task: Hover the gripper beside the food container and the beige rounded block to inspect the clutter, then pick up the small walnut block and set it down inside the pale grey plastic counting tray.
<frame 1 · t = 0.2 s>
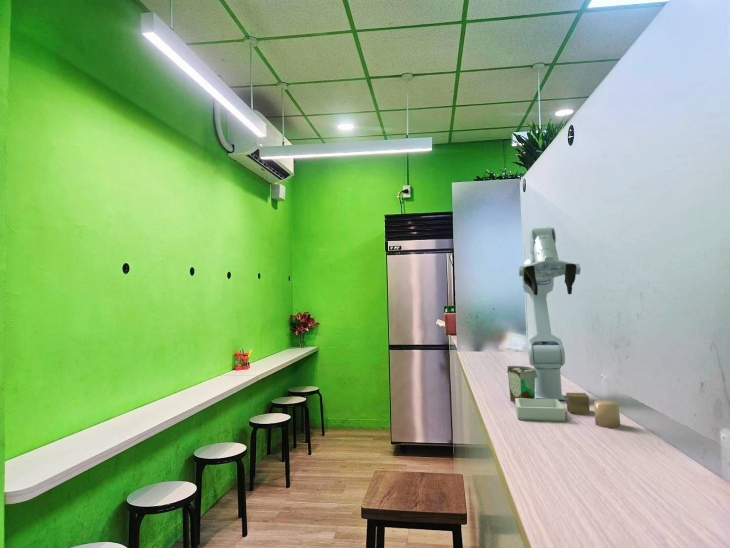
hand: (552, 291, 106), 31 cm above the table, tool tilted 45°, fingers open, 7 cm apart
walnut block: (578, 412, 112), on the table
counting tray: (538, 415, 110), on the table
beige rounded block: (607, 425, 100), on the table
food container: (526, 405, 122), on the table
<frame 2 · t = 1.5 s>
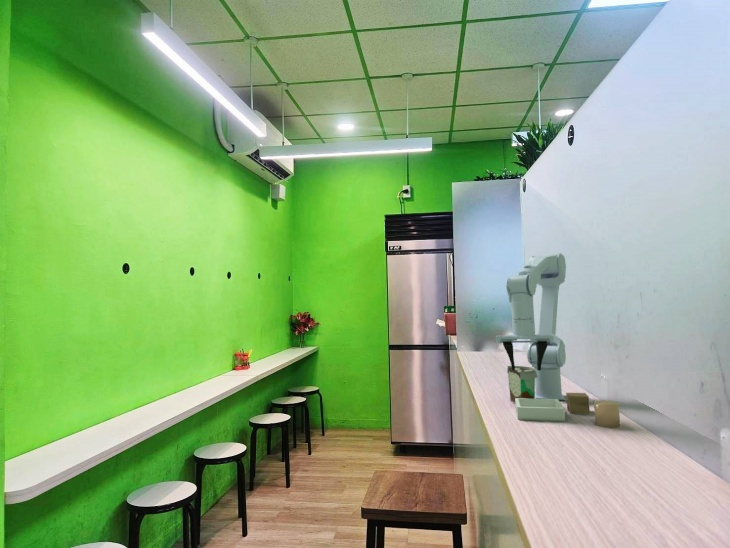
hand: (526, 369, 117), 10 cm above the table, tool pointing down, fingers open, 6 cm apart
nothing on the table moved.
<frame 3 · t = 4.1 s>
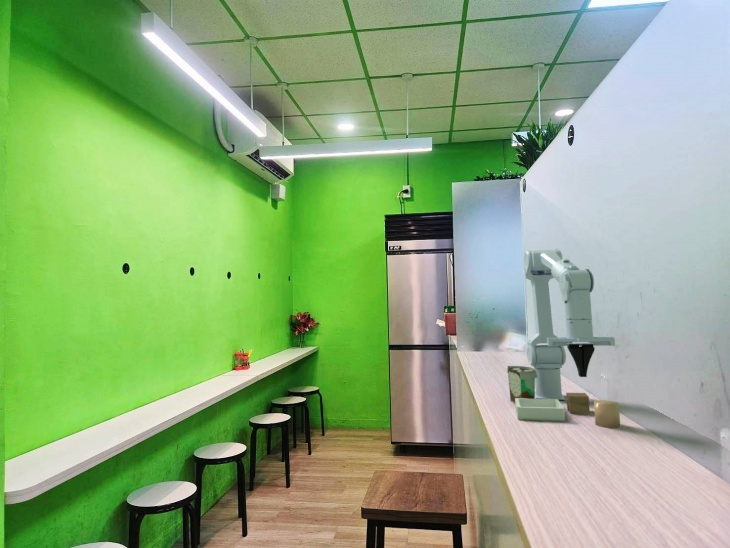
hand: (582, 376, 104), 10 cm above the table, tool pointing down, fingers closed
nothing on the table moved.
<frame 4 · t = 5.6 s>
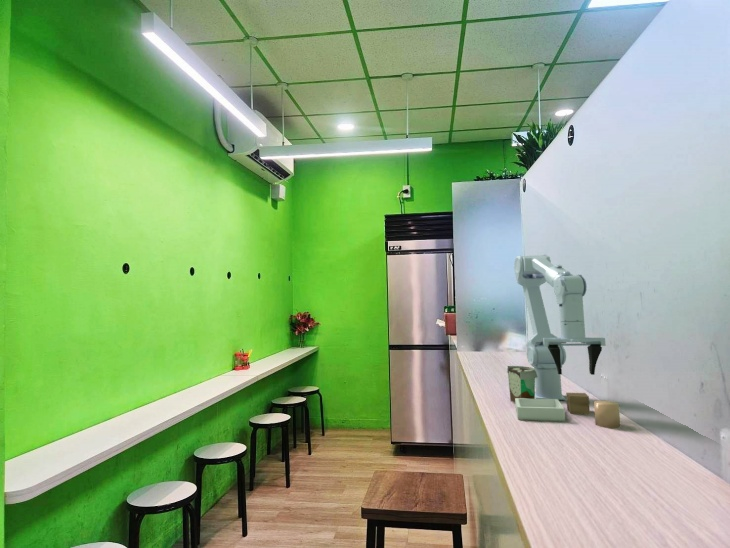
hand: (575, 374, 113), 10 cm above the table, tool pointing down, fingers open, 7 cm apart
nothing on the table moved.
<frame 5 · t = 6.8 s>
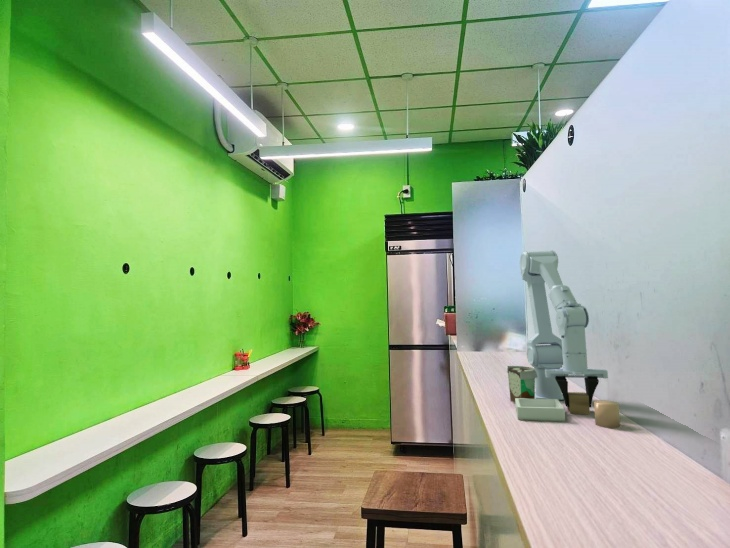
hand: (577, 406, 112), 1 cm above the table, tool pointing down, fingers closed on walnut block, 4 cm apart
walnut block: (578, 411, 112), on the table, touching gripper
everything else where it was.
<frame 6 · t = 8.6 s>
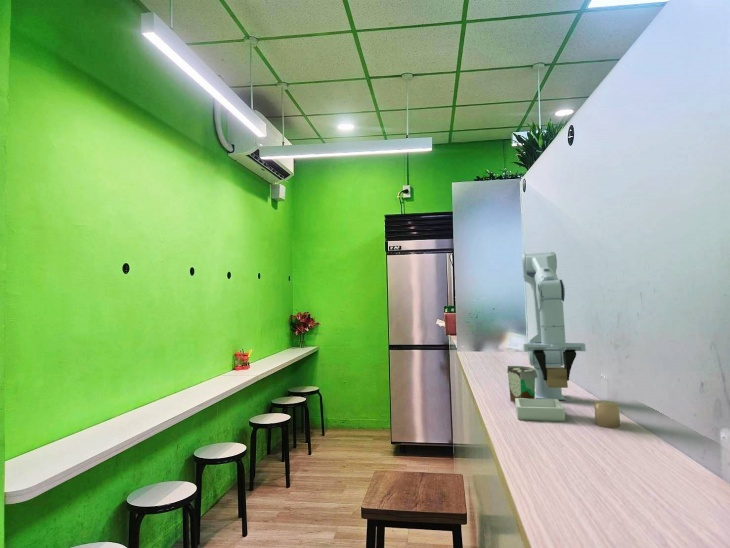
hand: (555, 379, 112), 8 cm above the table, tool pointing down, fingers closed on walnut block, 4 cm apart
walnut block: (556, 386, 111), point 7 cm above the table, touching gripper
everything else where it was.
when the fingers open (3 cm above the table, at t = 10.3 s): walnut block drops 1 cm, resting on counting tray.
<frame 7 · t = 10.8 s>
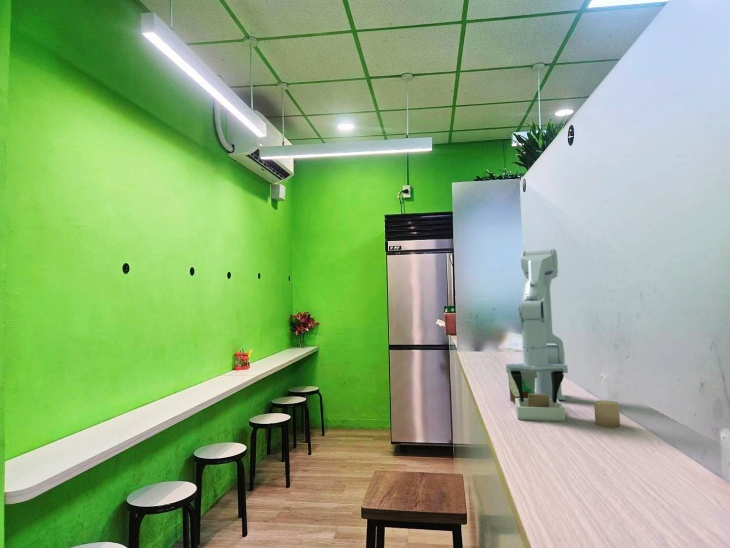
hand: (538, 401, 110), 3 cm above the table, tool pointing down, fingers open, 7 cm apart
walnut block: (539, 413, 110), resting on counting tray
everything else where it was.
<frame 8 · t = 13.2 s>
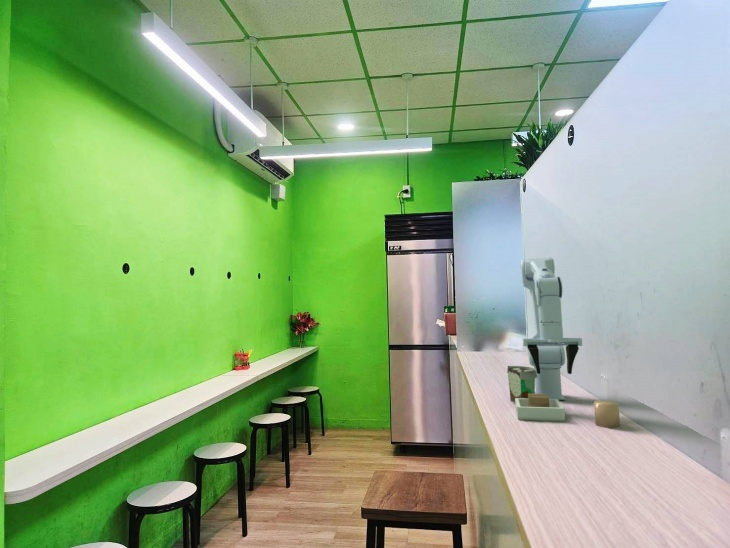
hand: (553, 373, 116), 9 cm above the table, tool pointing down, fingers open, 7 cm apart
nothing on the table moved.
at the end: walnut block 0.1 cm off-centre on the counting tray, point 0.4 cm above the counting tray's base; the gripper is holding nothing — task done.
